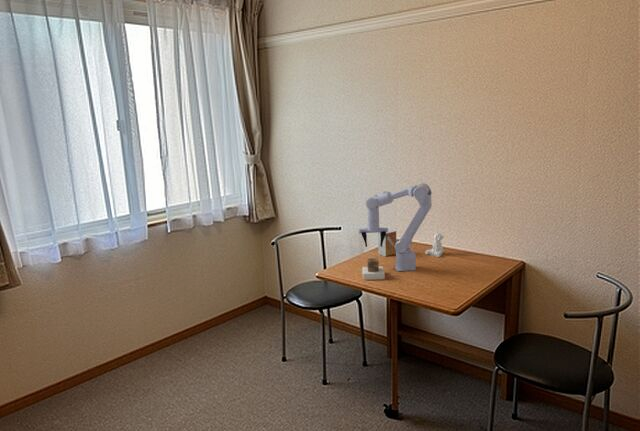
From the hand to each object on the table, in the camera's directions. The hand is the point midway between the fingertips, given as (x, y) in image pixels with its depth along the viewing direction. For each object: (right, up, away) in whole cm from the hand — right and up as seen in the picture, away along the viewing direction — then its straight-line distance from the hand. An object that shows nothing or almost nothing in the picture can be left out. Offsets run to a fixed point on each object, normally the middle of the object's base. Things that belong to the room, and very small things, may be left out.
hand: (373, 246), depth 238 cm
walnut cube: (-2, -11, -13) cm, 17 cm away
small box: (+10, -6, +21) cm, 24 cm away
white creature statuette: (+36, -6, +16) cm, 40 cm away
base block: (-2, -14, -12) cm, 18 cm away
